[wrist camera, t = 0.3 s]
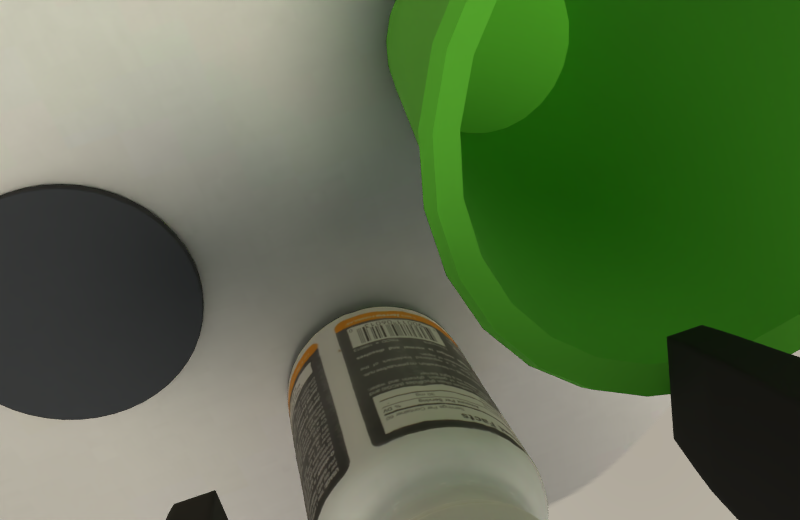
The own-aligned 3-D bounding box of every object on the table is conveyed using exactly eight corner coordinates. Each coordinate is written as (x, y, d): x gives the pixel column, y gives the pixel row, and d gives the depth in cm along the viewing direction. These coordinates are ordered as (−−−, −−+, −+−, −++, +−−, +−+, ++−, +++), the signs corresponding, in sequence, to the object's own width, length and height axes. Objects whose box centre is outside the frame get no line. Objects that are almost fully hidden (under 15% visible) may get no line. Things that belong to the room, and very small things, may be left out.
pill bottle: (374, 478, 25) (466, 768, 16) (246, 392, 23) (271, 677, 14) (492, 363, 25) (655, 600, 16) (373, 262, 22) (485, 474, 13)
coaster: (241, 357, 22) (241, 364, 22) (15, 447, 22) (13, 456, 21) (136, 145, 19) (135, 149, 19) (-129, 242, 19) (-136, 249, 18)
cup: (334, 219, 21) (445, 455, 11) (289, -135, 18) (397, -239, 8) (618, 173, 23) (929, 344, 13) (632, -159, 19) (1082, -270, 9)
